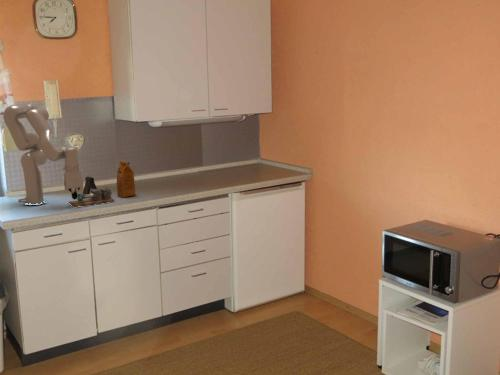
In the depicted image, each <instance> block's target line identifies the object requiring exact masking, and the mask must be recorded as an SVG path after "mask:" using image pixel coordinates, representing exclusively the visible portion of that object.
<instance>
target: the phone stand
mask: <svg viewBox="0 0 500 375" xmlns="http://www.w3.org/2000/svg"><path fill="white" fill-rule="evenodd" d="M84 179H85V180H84V181H85V183H84V185H83V191H82V195H86V194H91V189H98V188H97V185H96V183H95V178H94V177H91V176H85V178H84Z"/></svg>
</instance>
